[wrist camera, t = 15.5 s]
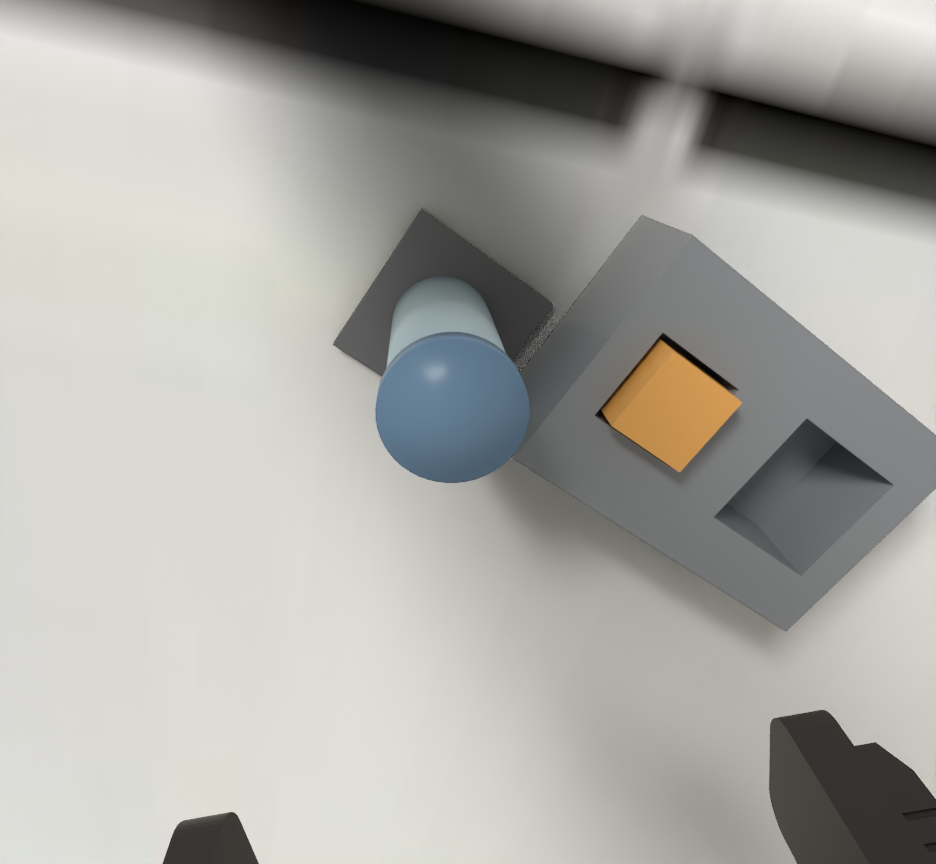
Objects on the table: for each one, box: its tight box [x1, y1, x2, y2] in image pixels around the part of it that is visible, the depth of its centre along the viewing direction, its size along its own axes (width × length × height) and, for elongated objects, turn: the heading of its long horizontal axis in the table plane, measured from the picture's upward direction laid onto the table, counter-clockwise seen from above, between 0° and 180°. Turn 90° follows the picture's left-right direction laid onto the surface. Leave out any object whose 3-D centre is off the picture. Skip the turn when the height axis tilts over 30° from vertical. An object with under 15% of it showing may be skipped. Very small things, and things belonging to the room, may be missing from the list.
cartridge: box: [376, 276, 530, 483], centre depth 30 cm, size 5×5×12 cm
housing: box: [513, 215, 936, 631], centre depth 36 cm, size 18×12×7 cm, turn 54°
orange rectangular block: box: [600, 337, 742, 472], centre depth 32 cm, size 4×4×5 cm
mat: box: [333, 209, 553, 376], centre depth 36 cm, size 8×8×1 cm
